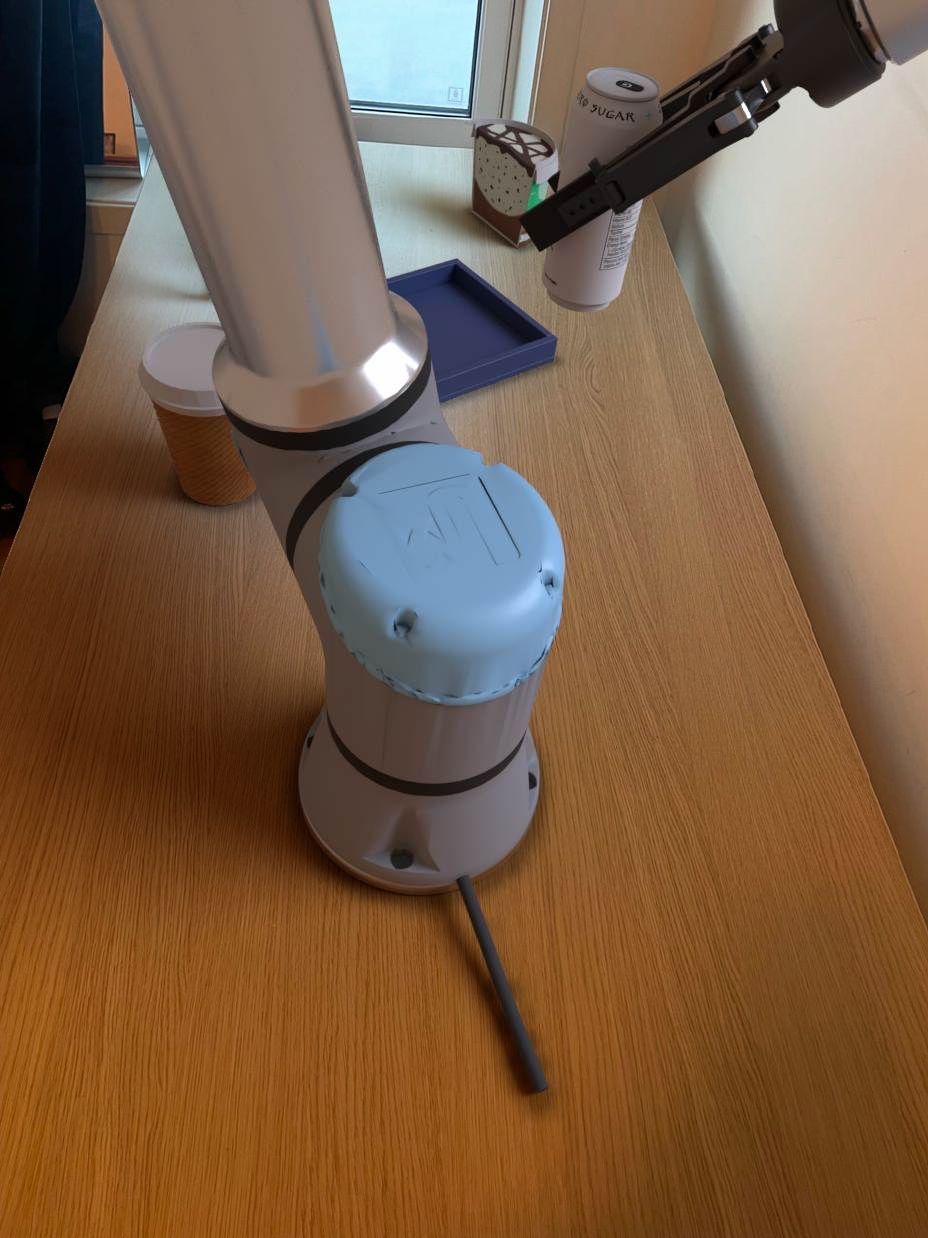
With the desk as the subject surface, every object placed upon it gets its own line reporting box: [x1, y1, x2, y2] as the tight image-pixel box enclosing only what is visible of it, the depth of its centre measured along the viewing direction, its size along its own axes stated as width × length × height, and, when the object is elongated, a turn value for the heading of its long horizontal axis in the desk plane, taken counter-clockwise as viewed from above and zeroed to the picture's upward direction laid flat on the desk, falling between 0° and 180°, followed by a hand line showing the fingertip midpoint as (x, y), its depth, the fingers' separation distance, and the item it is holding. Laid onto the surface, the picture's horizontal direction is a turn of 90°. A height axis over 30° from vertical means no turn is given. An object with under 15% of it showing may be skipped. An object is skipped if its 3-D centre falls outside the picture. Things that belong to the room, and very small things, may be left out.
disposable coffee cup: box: [137, 321, 257, 506], centre depth 72 cm, size 10×10×12 cm
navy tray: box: [386, 257, 559, 404], centre depth 92 cm, size 17×17×3 cm
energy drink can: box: [541, 66, 663, 313], centre depth 66 cm, size 6×6×15 cm
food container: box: [470, 117, 559, 249], centre depth 106 cm, size 12×6×10 cm, turn 34°
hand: (545, 213), depth 68 cm, fingers closed on energy drink can, 6 cm apart
